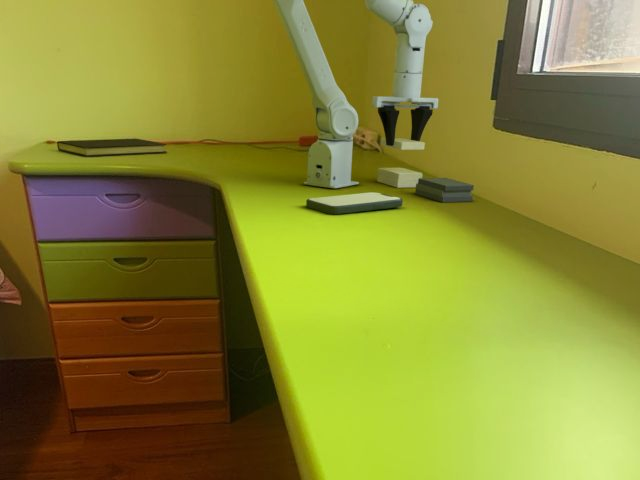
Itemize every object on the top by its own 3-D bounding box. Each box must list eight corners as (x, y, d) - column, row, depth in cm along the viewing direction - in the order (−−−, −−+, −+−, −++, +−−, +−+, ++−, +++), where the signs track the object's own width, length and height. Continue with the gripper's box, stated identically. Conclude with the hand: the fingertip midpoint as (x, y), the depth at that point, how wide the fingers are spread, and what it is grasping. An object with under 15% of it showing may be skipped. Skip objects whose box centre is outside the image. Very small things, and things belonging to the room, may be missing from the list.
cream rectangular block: (421, 187, 147) (423, 173, 145) (397, 187, 145) (398, 173, 143) (399, 180, 154) (400, 167, 153) (376, 181, 152) (377, 167, 151)
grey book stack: (472, 201, 133) (474, 184, 131) (442, 202, 130) (444, 185, 129) (443, 193, 141) (445, 177, 139) (415, 193, 138) (416, 178, 137)
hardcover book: (166, 152, 185) (165, 143, 184) (86, 156, 171) (85, 147, 170) (135, 147, 196) (135, 138, 194) (57, 150, 181) (56, 140, 180)
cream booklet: (424, 149, 143) (425, 142, 143) (401, 149, 141) (402, 142, 141) (402, 145, 151) (403, 138, 150) (380, 145, 149) (381, 138, 148)
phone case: (332, 217, 114) (405, 208, 122) (332, 206, 113) (406, 198, 122) (303, 208, 120) (374, 200, 129) (303, 198, 120) (374, 191, 128)
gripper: (386, 72, 134) (380, 147, 140) (449, 75, 139) (441, 147, 145) (369, 71, 139) (365, 144, 145) (430, 74, 145) (423, 143, 151)
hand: (402, 145), depth 146 cm, fingers closed on cream booklet, 5 cm apart
